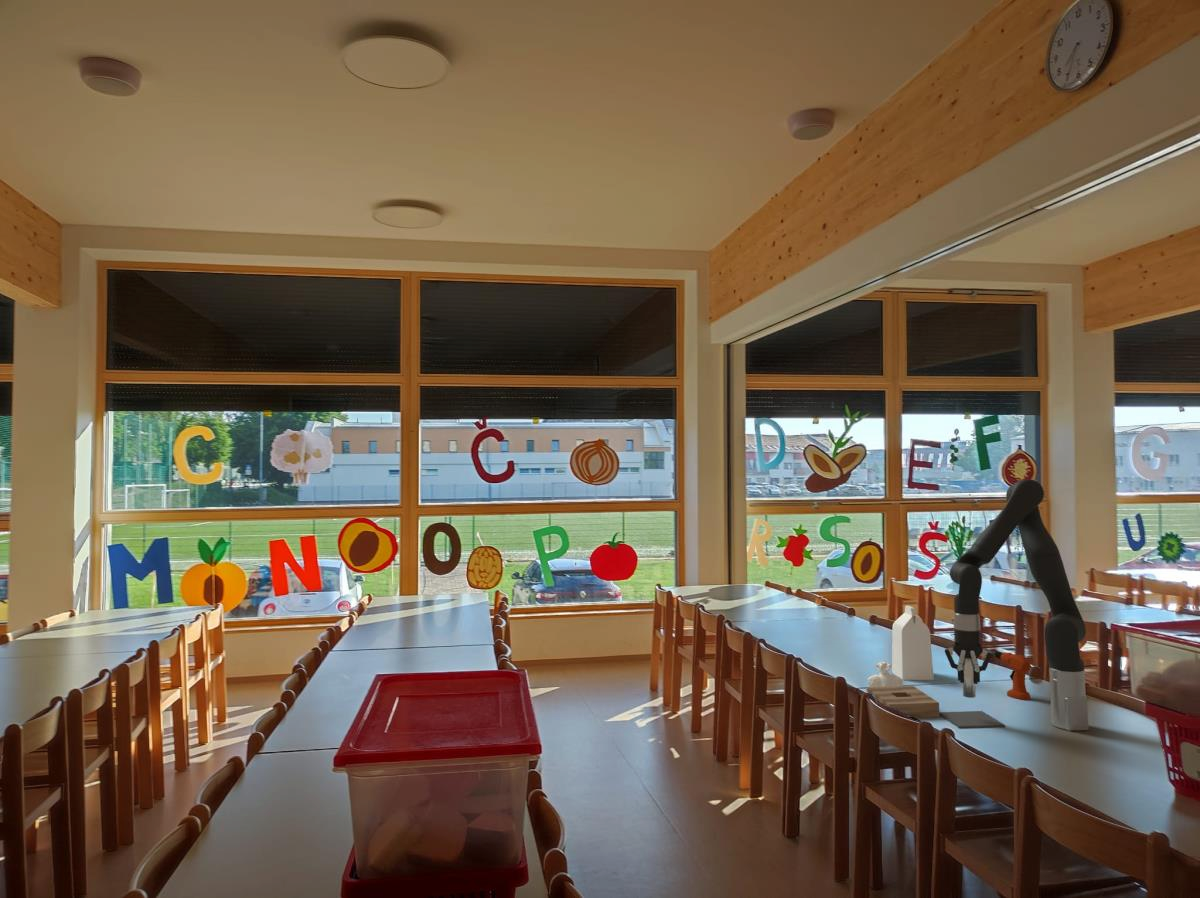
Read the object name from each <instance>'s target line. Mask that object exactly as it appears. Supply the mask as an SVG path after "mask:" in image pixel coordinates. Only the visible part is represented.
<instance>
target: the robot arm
mask: <svg viewBox="0 0 1200 898" xmlns="http://www.w3.org/2000/svg"><path fill="white" fill-rule="evenodd" d="M1044 490H1045V489H1044V487H1043V486H1042V485H1041V484H1040V482H1039V481H1036V480H1035V479H1030V478H1029V479H1028V478H1027V479H1020V480H1019V481H1016V482H1014V483H1012V484H1011V485H1010V486H1009V487H1008V488H1007V490H1006V492H1005V496H1006V497H1005V498H1006V504H1005V505H1004V507H1002V509H1001V511H1000V512H999V514H998V515H996V517H995V518H994V519H993V520H992V521H991V522H990V523H989V524H988V525H987V526H986V527H985V529H983V531H982V532H981V533H980V534H979V536H978V537H977V538H976V539H975V541H974V542H973V543H972V544H971V546H970V548H969V549H968V550H967V551H965V552H964V553H963V554H962V555H961V556H960V557H959V558H957V559H956V560H955V562H954V563H953V564H952V565H951V568H950V569H949V577H950V579H951V581H952V582H953V583H955V584H957V585H959V587H958V593H957V594H955V596H954V599H953V607H954V609H953V610H954V611H953V612H954V615H953V637H954V638H953V639H954V640H953V642H954V643H953V646H952V647H949V648H947V647H946V648H944V653H945V656H946V658H947V660H948V663H949V665H950V667H951V668H952V669H955V670H956V672H957V681H959V682H960V683H962V684H963V672H962V665H963V661H964V658H972V660H973V664H974V667H975V685H978V683H980V682H981V672H983V671H984V672H985V671H986V670H987V668H988V665H989V662H990V660H991V658H992V655H993V654H992V653H991V651H992V650H991V651H986V650H984V648H983V647H982V639H981V638H982V637H981V636H982V635H981V631H982V630H981V619H980V606H979V605H980V604H979V601H980V600H979V599H980V595H981V589H982V585H983V576H982V573H981V570H980V568H981V567H982V566H984V565H987V564H989V563H990V562H992V560H993V559H994V558H995V557H996V555H997V554H998V553H999V551H1000V550H1001V549H1002V548H1003V546H1004V545H1005V544H1006V541H1007V540H1008V539H1009V537H1011V535H1012V533H1013V532H1014V531H1015V530H1016V528H1017V527H1018V531H1019V534H1020V539H1021V542H1022V543H1021V544H1022V546H1023V549H1024V552H1025V553H1024V554H1025V557H1026V560H1027V563H1028V567H1029V570H1030V573H1031V576H1032V577H1033V579H1034V581H1035V582H1036V583H1037V585H1038V586H1039V588H1040V590H1041V591H1042V592H1043V594H1044V596H1045V598H1046V599H1047V602H1048V605H1049V609H1050V613H1051V618H1049V619H1048V620H1047V621H1046V623H1045V626H1044V645H1045V646H1044V647H1045V655H1046V658H1047V660H1048V669H1049V671H1048V672H1049V689H1050V690H1049V694H1050V695H1049V696H1050V714H1051V715H1050V716H1051V717H1050V718H1051V725H1052V726H1054V727H1056V728H1059V729H1063V730H1066V731H1089V712H1088V711H1089V707H1088V698H1087V697H1086V678H1085V677H1086V675H1085V671H1086V670H1085V661H1084V659H1082V658H1081V656H1080V655H1081V654H1080V644H1079V643H1081V642H1082V641H1083V640H1084V639H1085V637H1086V634H1087V626H1086V623H1085V621H1084V618H1083V616H1082V615H1081V612H1080V610H1079V608H1078V606H1077V604H1076V601H1075V599H1074V596H1073V593H1072V589H1071V586H1070V583H1069V579H1068V576H1067V573H1066V570H1065V565H1064V562H1063V558H1062V555H1061V553H1060V550H1059V547H1058V546H1057V544H1056V542H1055V540H1054V539H1053V537H1052V535H1051V534H1050V533H1049V530H1048V529H1047V528H1046V526H1045V524H1044V521H1043V519H1042V515H1041V511H1040V508H1039V505H1040V504H1041V503H1042V502H1043V500H1044V496H1045V491H1044ZM954 652H955V654H956V656H958V663H957V664H956V663H955V660H954V658H953V655H954ZM981 654H982V655H983V658H984V659H983V662H982V664H981V665H979V662H978V658H979V657H980V656H981Z"/></svg>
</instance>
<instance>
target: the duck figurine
mask: <svg viewBox="0 0 1200 898" xmlns="http://www.w3.org/2000/svg"><path fill="white" fill-rule="evenodd" d="M874 666H875V667H876V668H877V669H876V671H879V672H878V674H873V675H872V676H869V677H868V678H867V684H868V687H890V686H904V680H902V679H901V678H900V677H898V676H896V675H895V674H890V673H889V671H890V668H891V669H892V663H888V662H886V661H879V662H878V663H875V665H874Z"/></svg>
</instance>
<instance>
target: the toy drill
mask: <svg viewBox="0 0 1200 898" xmlns="http://www.w3.org/2000/svg"><path fill="white" fill-rule="evenodd" d="M983 650H986V651H991V653H992V655H994V657H995V658H996V659H998V660H1000V662H1002V663H1003V664H1004V665H1006V666H1008V667H1009V668H1010V669H1011V674H1010V675H1009V678H1010V679H1011V680H1012V689H1009V690H1008V691H1006V696H1008V697H1010V698H1013V699H1017V700H1023V701H1028V700H1031V694H1030V692H1028V691H1027V687H1026V680H1025V679H1026V674H1028V673H1029V671H1030V670H1031V667H1032V664H1031V663H1030V660H1028V658H1026V657H1025V656H1024V655H1023V654H1015V653H1014V654H1013V653H1012V652H1002V651H999V650H997V651H993V650H991V649H988V648H983Z"/></svg>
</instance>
